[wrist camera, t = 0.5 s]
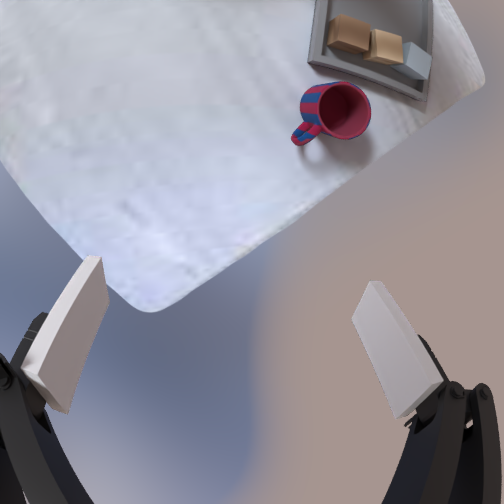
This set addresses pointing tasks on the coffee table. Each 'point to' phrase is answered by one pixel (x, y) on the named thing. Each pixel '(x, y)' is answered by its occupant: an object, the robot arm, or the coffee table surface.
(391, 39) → the block beech
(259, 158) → the coffee table surface
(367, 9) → the tray
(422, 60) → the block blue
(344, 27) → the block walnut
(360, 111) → the mug
